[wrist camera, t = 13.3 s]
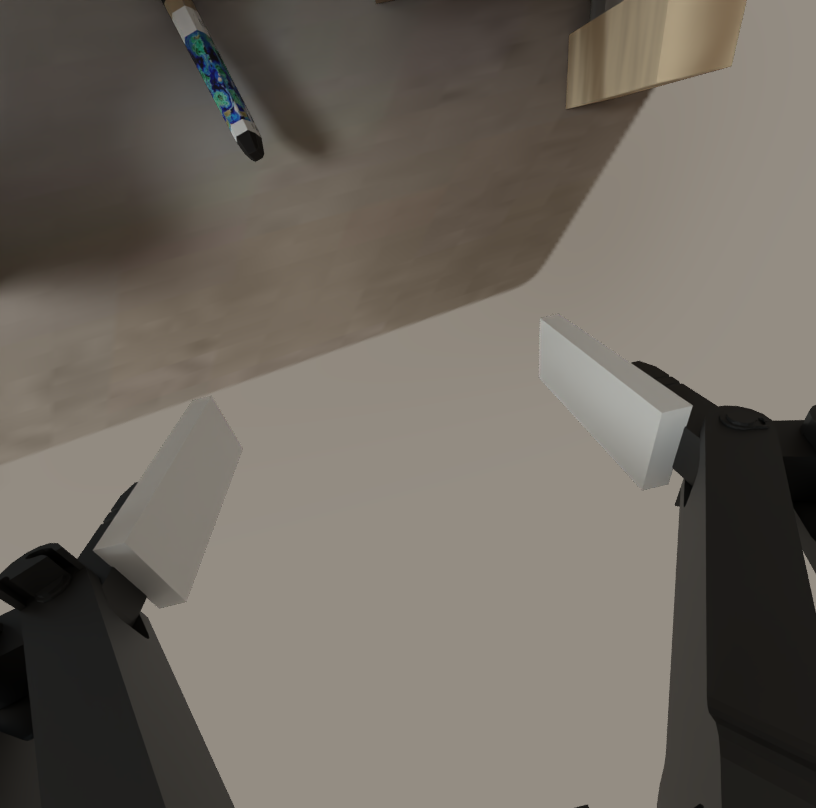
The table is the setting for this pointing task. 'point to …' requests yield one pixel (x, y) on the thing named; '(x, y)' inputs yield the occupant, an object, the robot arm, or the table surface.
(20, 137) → the table surface
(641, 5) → the blade tool
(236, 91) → the knife
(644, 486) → the robot arm
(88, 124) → the table surface
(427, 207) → the table surface
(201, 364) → the table surface
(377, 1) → the cabinet
